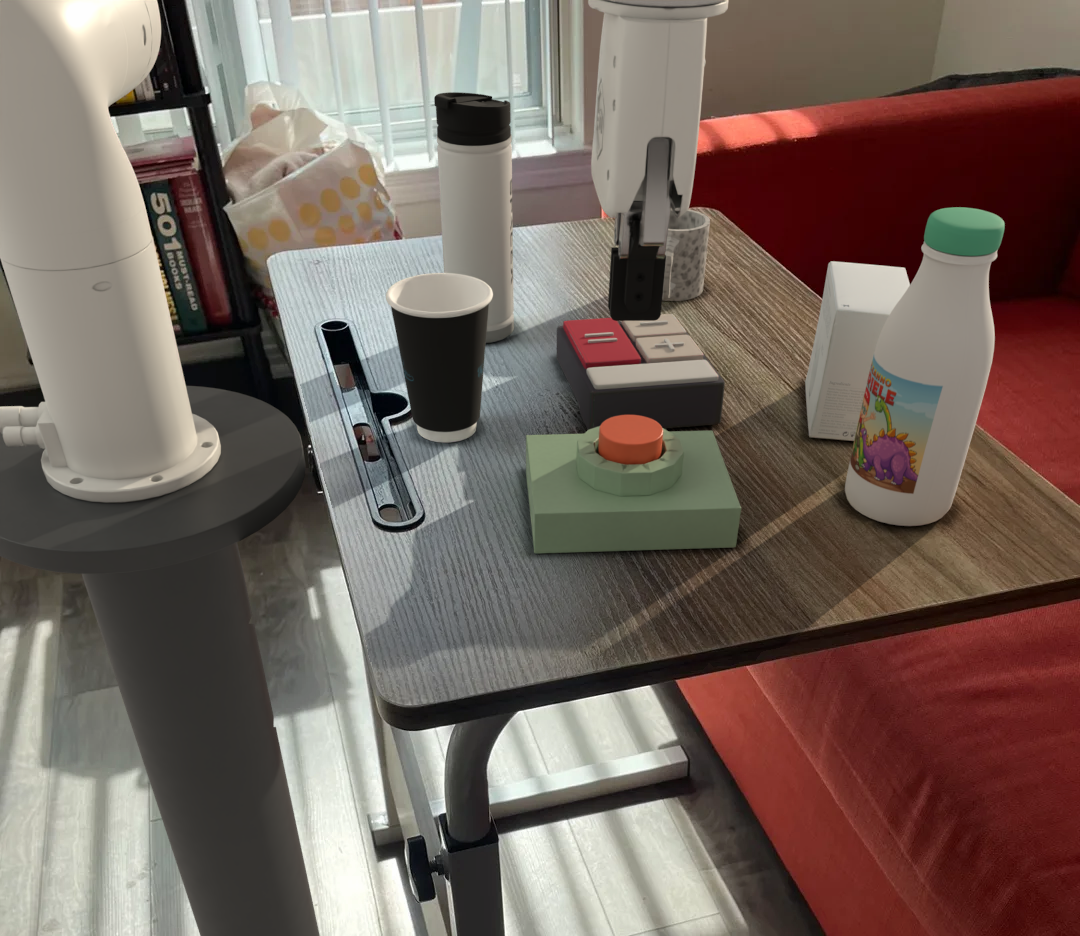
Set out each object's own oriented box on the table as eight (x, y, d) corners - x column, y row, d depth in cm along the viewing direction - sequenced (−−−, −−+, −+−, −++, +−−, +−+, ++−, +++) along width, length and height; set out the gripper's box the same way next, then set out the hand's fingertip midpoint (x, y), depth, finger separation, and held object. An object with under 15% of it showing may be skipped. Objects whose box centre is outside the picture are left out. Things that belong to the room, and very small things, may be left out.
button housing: (534, 553, 76) (534, 489, 73) (525, 473, 84) (525, 412, 81) (735, 547, 77) (745, 484, 73) (708, 468, 85) (715, 407, 82)
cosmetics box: (890, 446, 88) (922, 315, 81) (808, 439, 88) (832, 309, 81) (880, 387, 95) (908, 263, 88) (804, 382, 96) (825, 258, 89)
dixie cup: (378, 426, 90) (364, 289, 82) (454, 396, 94) (448, 264, 86) (438, 462, 85) (429, 322, 78) (516, 430, 89) (514, 294, 82)
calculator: (677, 308, 99) (727, 373, 87) (673, 356, 101) (722, 424, 90) (555, 316, 97) (590, 383, 86) (555, 364, 100) (589, 435, 88)
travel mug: (430, 330, 104) (415, 90, 90) (484, 311, 107) (477, 78, 94) (473, 351, 100) (464, 105, 87) (527, 331, 104) (526, 91, 90)
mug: (641, 273, 115) (646, 205, 110) (706, 278, 114) (713, 210, 109) (627, 310, 107) (631, 240, 103) (696, 316, 106) (703, 245, 102)
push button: (601, 468, 76) (602, 445, 75) (595, 437, 79) (596, 414, 78) (665, 466, 76) (667, 443, 75) (656, 436, 79) (658, 413, 78)
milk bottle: (920, 470, 85) (993, 193, 72) (970, 523, 79) (1058, 233, 66) (826, 480, 84) (882, 201, 70) (870, 535, 78) (939, 242, 65)
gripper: (577, -49, 64) (566, 272, 76) (604, 0, 53) (586, 367, 65) (705, -48, 64) (674, 272, 77) (759, 2, 53) (712, 366, 66)
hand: (633, 315), depth 71 cm, fingers closed
